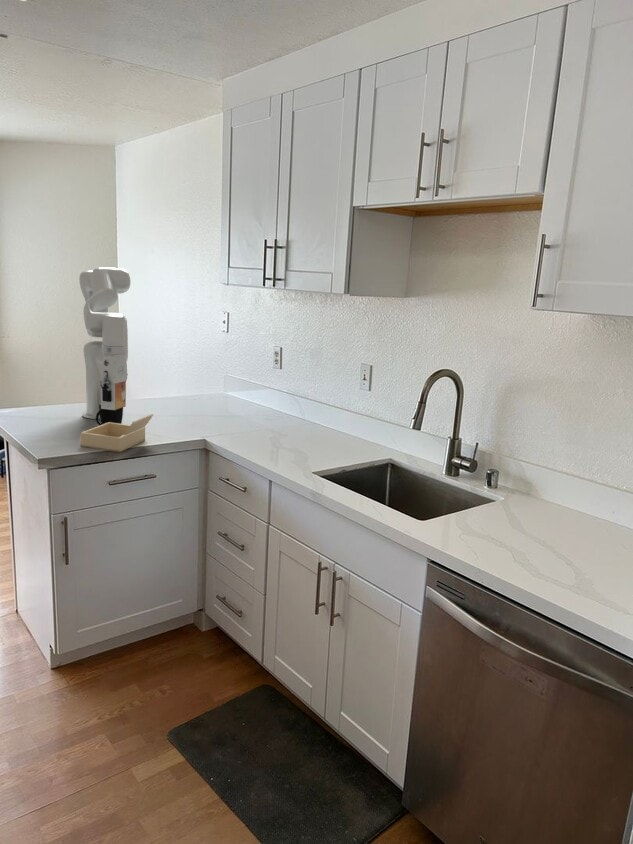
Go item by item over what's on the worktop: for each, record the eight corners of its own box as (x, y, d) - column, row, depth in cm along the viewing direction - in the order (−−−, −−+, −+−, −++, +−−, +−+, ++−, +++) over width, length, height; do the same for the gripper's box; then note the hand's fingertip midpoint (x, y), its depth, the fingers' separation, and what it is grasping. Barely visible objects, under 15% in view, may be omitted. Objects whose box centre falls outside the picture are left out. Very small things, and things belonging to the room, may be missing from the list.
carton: (108, 434, 236) (108, 422, 235) (145, 440, 233) (145, 427, 231) (80, 446, 219) (80, 432, 217) (119, 452, 215) (119, 438, 214)
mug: (111, 424, 250) (111, 400, 248) (128, 428, 247) (128, 403, 244) (88, 430, 240) (87, 404, 238) (105, 434, 236) (104, 408, 234)
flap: (152, 413, 227) (153, 414, 227) (143, 426, 229) (144, 427, 229) (133, 421, 214) (134, 422, 214) (123, 434, 216) (124, 435, 216)
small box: (115, 410, 218) (115, 381, 216) (100, 408, 219) (100, 379, 217) (126, 406, 226) (126, 377, 223) (112, 404, 227) (112, 376, 224)
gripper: (109, 354, 209) (109, 404, 213) (136, 349, 225) (135, 396, 229) (89, 351, 210) (90, 402, 214) (117, 347, 227) (117, 394, 231)
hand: (113, 398), depth 222 cm, fingers closed on small box, 8 cm apart
